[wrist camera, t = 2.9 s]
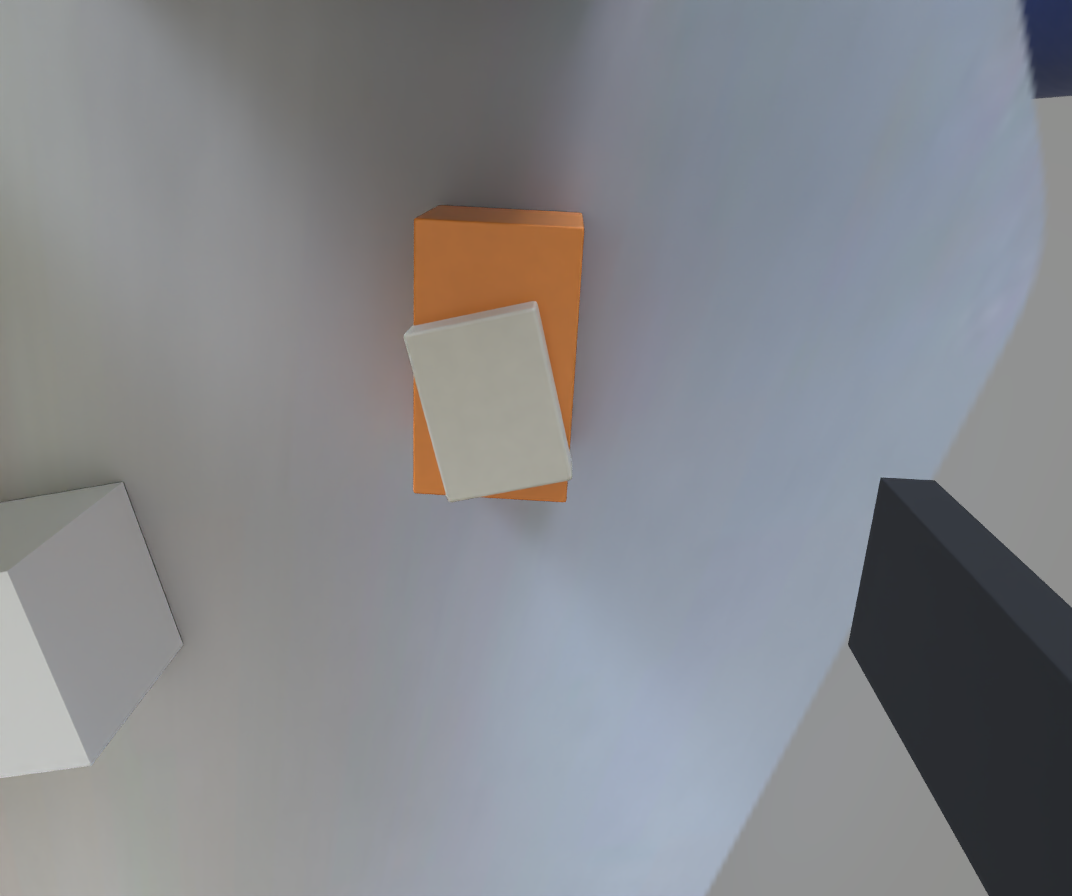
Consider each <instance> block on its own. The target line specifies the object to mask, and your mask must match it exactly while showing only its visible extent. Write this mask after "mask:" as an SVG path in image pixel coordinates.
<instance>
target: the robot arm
mask: <svg viewBox="0 0 1072 896" xmlns="http://www.w3.org/2000/svg"><path fill="white" fill-rule="evenodd" d="M848 645H849V647H850V649H851V651H852V653H853V654H854V656H855V658H856V660H857V661H858V663H859V665H860V667H861V668H862V670H863V672H864V674H865V676H866V678H867V679H868V681H869V683H870V685H871V686H872V688H873V690H874V692H875V693H876V695H877V697H878V699H879V701H880V702H881V704H882V706H883V708H884V710H885V711H886V713H887V715H888V717H889V719H890V720H891V722H892V724H893V726H894V727H895V729H896V731H897V733H898V734H899V736H900V738H901V740H902V742H903V743H904V745H905V747H906V749H907V750H908V752H909V754H910V756H911V758H912V760H913V761H914V763H915V765H916V767H917V768H918V770H919V772H920V773H921V776H922V777H923V779H924V781H925V783H926V784H927V786H928V788H929V790H930V792H931V793H932V795H933V797H934V798H935V801H936V802H937V804H938V806H939V807H940V809H941V811H942V813H943V815H944V817H945V818H946V820H947V822H948V824H949V825H950V827H951V829H952V831H953V833H954V834H955V836H956V838H957V840H958V842H959V843H960V845H961V847H962V849H963V850H964V852H965V854H966V856H967V857H968V859H969V861H970V863H971V865H972V866H973V868H974V870H975V872H976V874H977V875H978V877H979V879H980V881H981V883H982V884H983V886H984V888H985V890H986V891H987V893H988V895H989V896H1072V608H1071V607H1070V606H1069V605H1068V604H1067V603H1066V602H1065V601H1064V600H1063V599H1062V598H1061V597H1060V596H1058V595H1057V594H1056V593H1055V592H1054V591H1053V590H1052V589H1051V588H1050V587H1049V586H1048V585H1047V584H1045V582H1043V581H1042V580H1041V579H1040V578H1039V577H1038V576H1037V575H1036V574H1035V573H1034V572H1033V571H1032V570H1031V569H1029V568H1028V567H1027V566H1026V565H1025V564H1024V563H1023V562H1022V561H1021V560H1020V559H1019V558H1018V557H1017V556H1015V555H1014V554H1013V553H1012V552H1011V551H1010V550H1009V549H1008V548H1007V547H1006V546H1005V545H1004V544H1002V543H1001V542H1000V541H999V540H998V539H997V538H996V537H995V536H994V535H993V534H992V533H991V532H989V531H988V530H987V529H986V528H985V527H984V526H983V525H982V524H981V523H980V522H979V521H978V520H977V519H975V518H974V517H973V516H972V515H971V514H970V513H969V512H968V511H967V510H966V509H965V508H964V507H963V506H961V505H960V504H959V503H958V502H957V501H956V500H955V499H954V498H953V497H952V496H951V495H950V494H948V493H947V492H946V491H945V490H944V489H943V488H942V487H941V486H940V485H939V484H938V483H937V482H936V481H933V480H915V479H897V478H881V479H880V484H879V489H878V494H877V499H876V504H875V509H874V515H873V520H872V525H871V530H870V535H869V540H868V545H867V551H866V556H865V561H864V566H863V571H862V576H861V581H860V587H859V592H858V597H857V602H856V607H855V612H854V617H853V622H852V628H851V633H850V638H849V643H848Z"/></svg>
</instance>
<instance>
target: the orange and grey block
mask: <svg viewBox="0 0 1072 896" xmlns="http://www.w3.org/2000/svg"><path fill="white" fill-rule="evenodd" d="M583 242H584V224H583V217H582V213H577V212H559V211H540V210H522V209H503V208H485V207H466V206H448V205H439V206H437V207H435V208H433V209H431V210H429V211H428V212H426V213H424V214H422V215H420V216H418V217H416V218H415V219H414V325H412V326H411V327H410V328H409V330H408V331H407V332H406V333H405V334H404V341H405V345H406V348H407V352H408V356H409V359H410V363H411V367H412V371H413V374H414V440H413V491H414V493H419V494H436V495H446V497H447V500H448V501H449V502H456V501H461V500H467V499H472V498H478V497H486V498H502V499H519V500H536V501H552V502H566V499H567V484H568V481H569V480H571V479H572V458H571V453H570V438H571V423H572V408H573V393H574V378H575V363H576V348H577V333H578V318H579V303H580V288H581V273H582V258H583Z"/></svg>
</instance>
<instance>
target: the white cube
mask: <svg viewBox="0 0 1072 896" xmlns="http://www.w3.org/2000/svg"><path fill="white" fill-rule="evenodd" d="M182 646H183V643H182V640H181V638H180V635H179V632H178V629H177V627H176V624H175V621H174V619H173V616H172V613H171V611H170V608H169V605H168V603H167V600H166V597H165V594H164V592H163V589H162V586H161V584H160V581H159V578H158V576H157V573H156V570H155V568H154V565H153V562H152V559H151V557H150V554H149V551H148V549H147V546H146V543H145V541H144V538H143V535H142V533H141V530H140V527H139V524H138V522H137V519H136V516H135V514H134V511H133V508H132V506H131V503H130V500H129V497H128V495H127V492H126V489H125V487H124V484H123V482H119V483H113V484H107V485H101V486H95V487H90V488H84V489H78V490H72V491H66V492H60V493H54V494H49V495H43V496H37V497H31V498H25V499H19V500H13V501H8V502H2V503H0V778H5V777H13V776H20V775H27V774H34V773H42V772H49V771H56V770H63V769H71V768H78V767H85V766H92V764H93V763H94V762H95V760H96V759H97V758H98V756H99V755H100V754H101V752H102V751H103V750H104V748H105V747H106V746H107V745H108V743H109V742H110V741H111V739H112V738H113V737H114V735H115V734H116V733H117V731H118V730H119V729H120V727H121V726H122V725H123V723H124V722H125V721H126V720H127V718H128V717H129V716H130V714H131V713H132V712H133V710H134V709H135V708H136V706H137V705H138V704H139V702H140V701H141V700H142V698H143V697H144V696H145V695H146V693H147V692H148V691H149V689H150V688H151V687H152V685H153V684H154V683H155V681H156V680H157V679H158V677H159V676H160V675H161V673H162V672H163V671H164V670H165V668H166V667H167V666H168V664H169V663H170V662H171V660H172V659H173V658H174V656H175V655H176V654H177V652H178V651H179V650H180V648H181V647H182Z"/></svg>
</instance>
